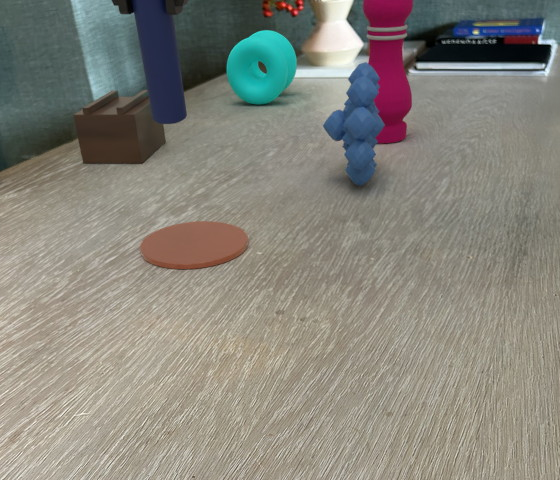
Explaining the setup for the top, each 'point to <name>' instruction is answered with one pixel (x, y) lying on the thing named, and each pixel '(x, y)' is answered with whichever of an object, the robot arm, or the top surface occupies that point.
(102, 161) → the block
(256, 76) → the donuts
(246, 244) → the coaster
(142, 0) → the marker
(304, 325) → the top surface
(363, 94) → the grapes
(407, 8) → the pepper mill
